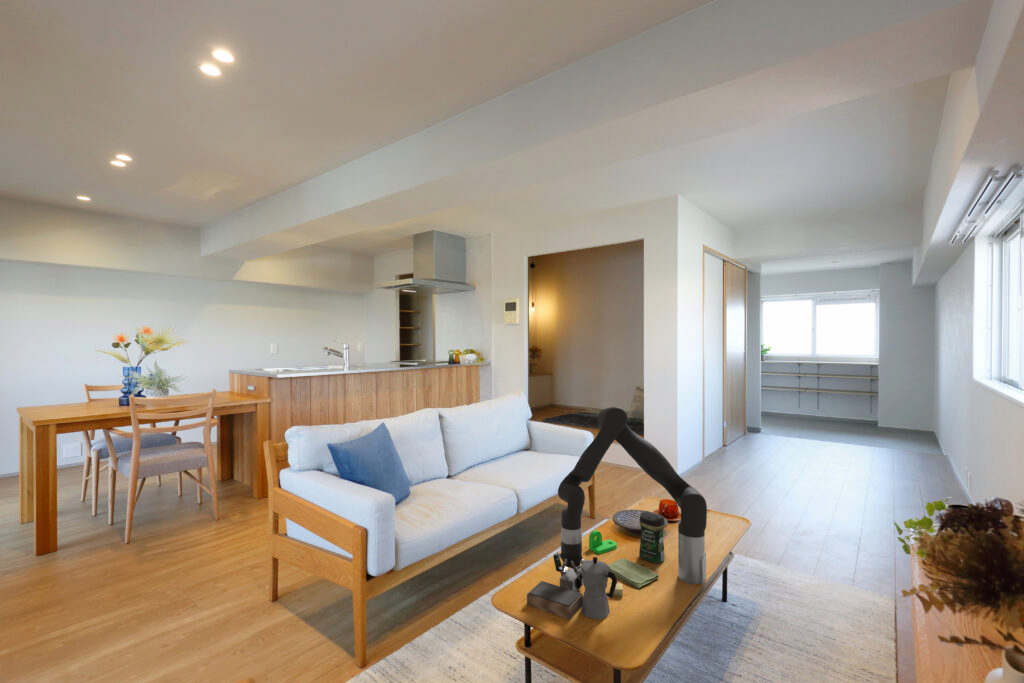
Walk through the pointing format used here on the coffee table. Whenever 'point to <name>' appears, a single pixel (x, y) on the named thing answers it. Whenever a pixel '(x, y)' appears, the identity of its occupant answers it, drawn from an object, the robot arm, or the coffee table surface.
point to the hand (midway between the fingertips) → (571, 585)
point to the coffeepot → (596, 588)
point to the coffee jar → (652, 537)
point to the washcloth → (632, 573)
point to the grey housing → (569, 580)
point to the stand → (555, 600)
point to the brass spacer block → (618, 590)
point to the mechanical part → (600, 543)
